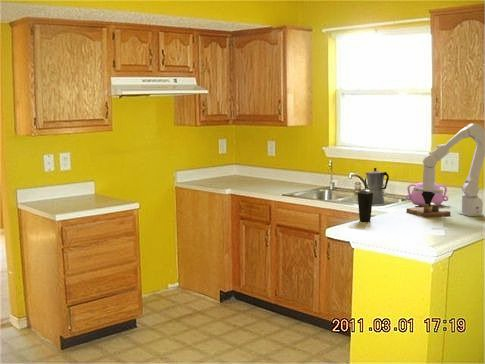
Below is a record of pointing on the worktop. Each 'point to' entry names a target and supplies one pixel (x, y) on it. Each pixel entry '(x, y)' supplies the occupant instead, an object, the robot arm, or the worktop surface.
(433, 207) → the birch leg
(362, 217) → the drinking cup
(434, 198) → the teapot
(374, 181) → the moka pot
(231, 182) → the worktop surface
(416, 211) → the walnut stool seat
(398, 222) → the worktop surface
